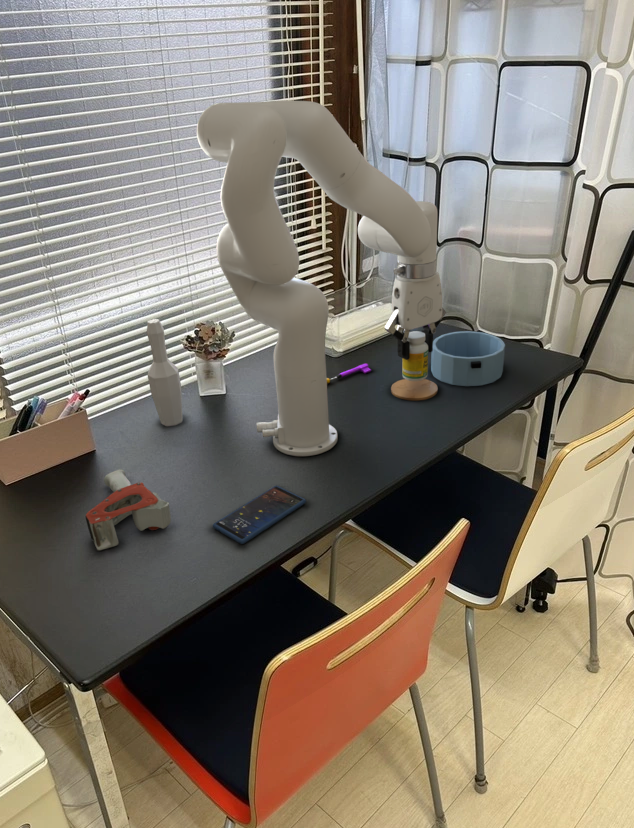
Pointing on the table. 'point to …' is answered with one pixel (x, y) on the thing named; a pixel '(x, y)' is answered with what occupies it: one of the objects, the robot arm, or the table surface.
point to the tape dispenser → (125, 510)
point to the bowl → (467, 358)
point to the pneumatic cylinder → (353, 371)
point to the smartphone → (259, 514)
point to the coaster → (414, 389)
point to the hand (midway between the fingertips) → (415, 353)
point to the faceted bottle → (163, 378)
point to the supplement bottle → (416, 358)
